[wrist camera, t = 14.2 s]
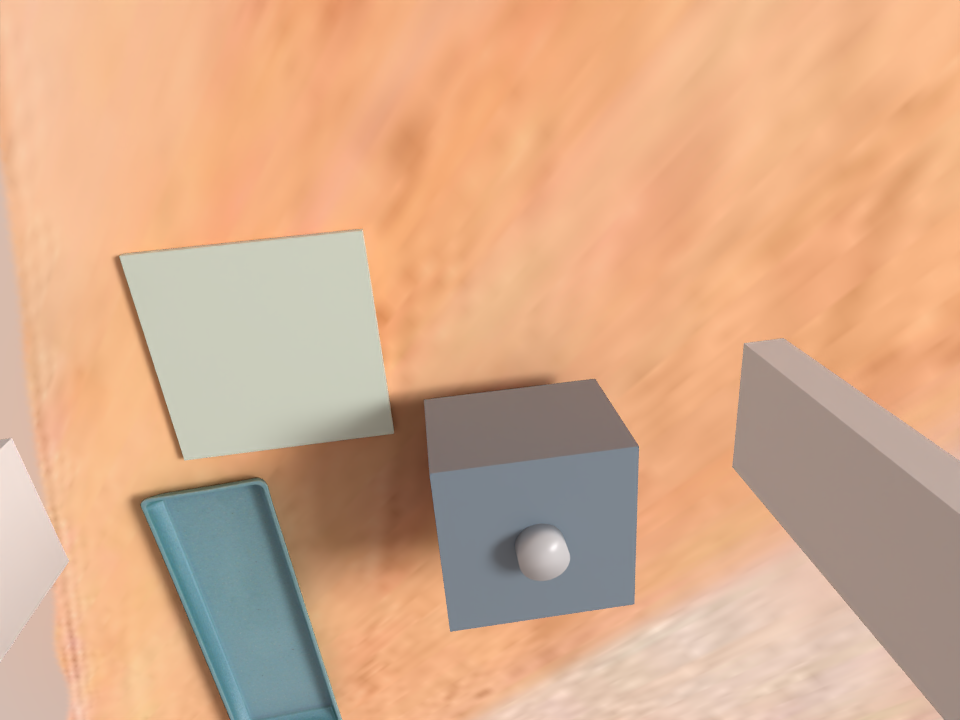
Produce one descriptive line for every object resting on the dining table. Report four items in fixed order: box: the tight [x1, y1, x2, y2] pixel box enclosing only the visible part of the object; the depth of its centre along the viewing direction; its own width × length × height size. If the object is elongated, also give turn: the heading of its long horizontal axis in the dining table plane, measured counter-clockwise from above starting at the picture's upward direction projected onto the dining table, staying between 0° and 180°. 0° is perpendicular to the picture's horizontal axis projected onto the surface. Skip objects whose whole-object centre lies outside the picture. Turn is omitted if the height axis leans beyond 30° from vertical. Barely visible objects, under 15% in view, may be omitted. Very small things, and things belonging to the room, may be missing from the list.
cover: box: [424, 379, 639, 632], centre depth 42 cm, size 12×12×10 cm
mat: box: [119, 229, 394, 460], centre depth 43 cm, size 15×15×1 cm
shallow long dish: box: [141, 478, 342, 720], centre depth 52 cm, size 26×9×2 cm, turn 7°
